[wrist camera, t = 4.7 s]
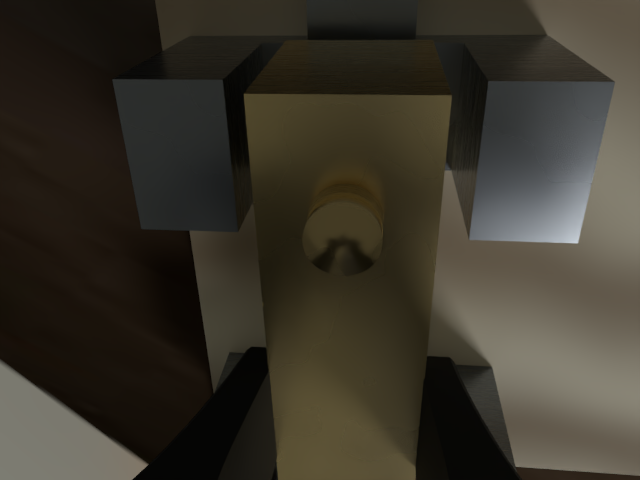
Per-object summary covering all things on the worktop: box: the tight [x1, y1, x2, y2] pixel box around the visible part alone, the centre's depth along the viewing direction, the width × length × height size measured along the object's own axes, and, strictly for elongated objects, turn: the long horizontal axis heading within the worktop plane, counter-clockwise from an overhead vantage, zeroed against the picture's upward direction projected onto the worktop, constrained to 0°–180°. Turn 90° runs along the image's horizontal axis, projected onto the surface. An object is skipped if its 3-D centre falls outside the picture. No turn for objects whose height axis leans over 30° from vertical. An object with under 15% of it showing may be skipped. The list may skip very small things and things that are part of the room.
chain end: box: [112, 0, 615, 243], centre depth 12 cm, size 4×8×4 cm, turn 91°
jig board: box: [155, 0, 640, 476], centre depth 17 cm, size 16×17×1 cm
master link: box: [244, 40, 452, 480], centre depth 13 cm, size 13×3×5 cm, turn 1°
